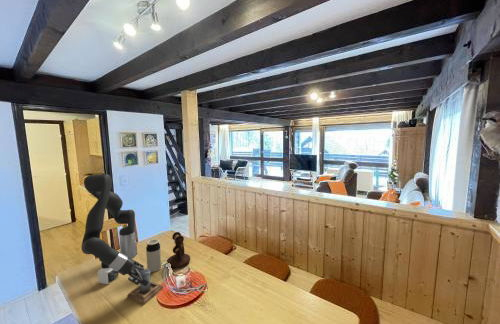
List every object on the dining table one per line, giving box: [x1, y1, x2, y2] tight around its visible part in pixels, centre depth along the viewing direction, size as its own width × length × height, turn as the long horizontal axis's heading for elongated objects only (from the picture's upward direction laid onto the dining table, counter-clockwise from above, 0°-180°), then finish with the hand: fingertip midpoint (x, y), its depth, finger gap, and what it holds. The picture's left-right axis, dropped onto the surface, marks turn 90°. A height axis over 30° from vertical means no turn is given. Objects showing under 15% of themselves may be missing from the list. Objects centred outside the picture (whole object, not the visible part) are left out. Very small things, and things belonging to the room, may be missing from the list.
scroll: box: [166, 231, 191, 269], centre depth 138 cm, size 15×15×20 cm
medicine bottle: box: [97, 261, 120, 285], centre depth 121 cm, size 7×7×12 cm
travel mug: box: [145, 238, 162, 273], centre depth 131 cm, size 8×8×18 cm
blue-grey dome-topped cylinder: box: [139, 268, 152, 294], centre depth 110 cm, size 6×6×10 cm
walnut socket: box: [126, 281, 164, 305], centre depth 111 cm, size 12×12×3 cm
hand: (148, 279), depth 111 cm, fingers open, 8 cm apart
